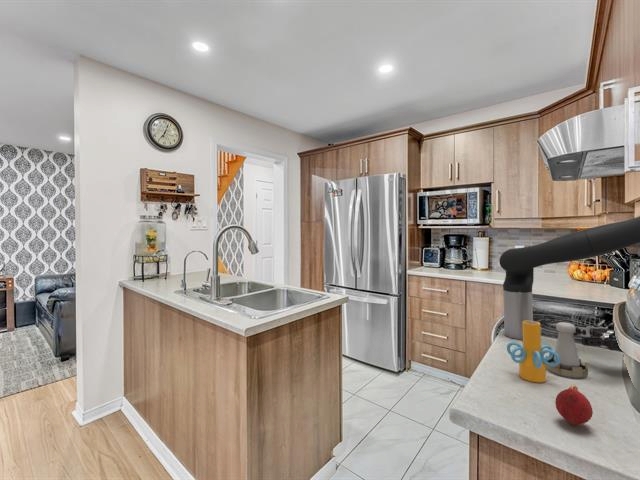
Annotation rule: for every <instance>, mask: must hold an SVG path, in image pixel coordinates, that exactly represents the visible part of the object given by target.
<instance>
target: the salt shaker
mask: <svg viewBox="0 0 640 480" xmlns="http://www.w3.org/2000/svg"><path fill="white" fill-rule="evenodd" d="M555 324H556V327H555V328H556V331H557V332H558V334H557V340H556V345H555V350H554V352H556V353H557V354H558V355H559V357H560V363H559V364H560V365H561V369H566V370H571V367H579V366H580V361H579V359H580V358H579V357H580V356H579V354H578V350H577V345H576V341H575V336H573V333H575V332H576V328H575V326H574V325H575V324H573V323H570V322H565V321H564V322H563V321H561V322H557V323H555ZM554 362H556V357H555V355H554Z"/></svg>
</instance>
